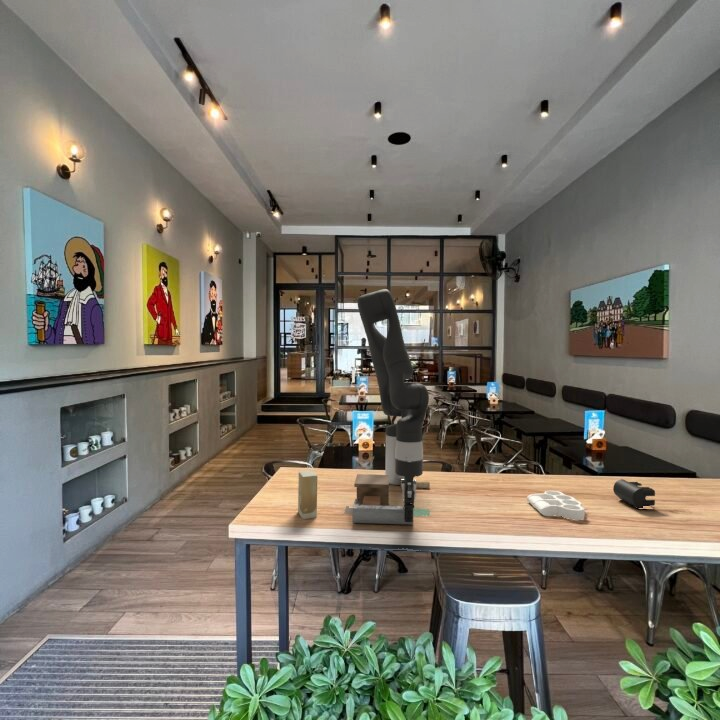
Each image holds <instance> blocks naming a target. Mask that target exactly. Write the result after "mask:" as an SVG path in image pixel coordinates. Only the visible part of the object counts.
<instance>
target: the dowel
mask: <svg viewBox="0 0 720 720" xmlns="http://www.w3.org/2000/svg"><path fill="white" fill-rule="evenodd" d="M401 482H402V481H401ZM430 486H431V484H430V481H419V480H418V481H417V480H416V489H423V488H426V490H428V489H429V490H430ZM400 488H401V489H402V483H401V485H400Z"/></svg>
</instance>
